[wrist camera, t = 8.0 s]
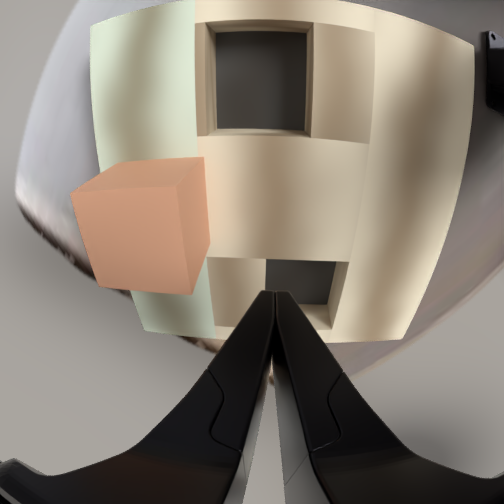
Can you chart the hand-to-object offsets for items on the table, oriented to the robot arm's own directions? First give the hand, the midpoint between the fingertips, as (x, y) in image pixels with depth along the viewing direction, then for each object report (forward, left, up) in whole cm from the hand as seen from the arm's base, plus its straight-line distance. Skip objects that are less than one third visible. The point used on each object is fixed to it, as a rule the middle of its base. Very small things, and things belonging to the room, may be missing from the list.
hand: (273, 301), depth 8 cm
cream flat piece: (-1, 0, -10) cm, 10 cm away
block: (+6, 0, -7) cm, 9 cm away
